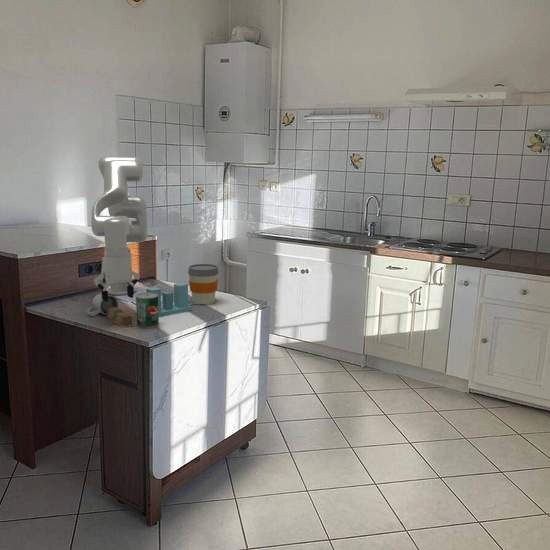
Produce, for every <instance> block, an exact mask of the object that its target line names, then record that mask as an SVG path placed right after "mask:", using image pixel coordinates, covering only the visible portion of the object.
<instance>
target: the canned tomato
mask: <svg viewBox="0 0 550 550" xmlns="http://www.w3.org/2000/svg"><path fill="white" fill-rule="evenodd" d="M135 309H136V314H135V315H136V326H137V327H138V326H139V327H138V328H142V327H150V328H155V327H157V325H158V326H159V325H160V323H159V319H160V317H159V316H158V315H159V314H158V294H156V293H146V292H140V293H137V294H136V295H135ZM154 326H155V327H154Z"/></svg>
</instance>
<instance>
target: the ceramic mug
mask: <svg viewBox="0 0 550 550" xmlns="http://www.w3.org/2000/svg"><path fill="white" fill-rule="evenodd" d="M91 303H92V304H91V305H92V306H91V307H89V308H88V310H86V313H87V315H88V316H89V317H94V316H96V315H99V314H100V313H101V314H103V315H105V316H107V307H113V306H115V307H116V308H118V307H119V301H118V299H117V297H116V296H115V295H111V294H108V302H105V301H103V299H102V293H98V294H96V295H95V296H94V297H93V299H92V302H91ZM118 309H119V308H118Z"/></svg>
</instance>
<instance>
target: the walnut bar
mask: <svg viewBox="0 0 550 550" xmlns="http://www.w3.org/2000/svg"><path fill="white" fill-rule="evenodd" d="M106 317H107V318H108V317H109V318H110V319H109V318H108V319H109V320H111V319H112V320H111V321H113V320H114V321H116V322H117V323H116V322H115V323H116V324H118V323H119V324H120V326H121V325H122V326H121V327H123V326H127V327H130V326H129V325H132V323H133V321H132V315H131V314H129V313H127V312H126V311H124V310H122V309H120V308H116V307H115V306H113V307H107V315H106ZM114 321H113V322H114ZM119 324H118V325H119ZM132 326H133V325H132Z"/></svg>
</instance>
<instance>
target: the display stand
mask: <svg viewBox="0 0 550 550" xmlns="http://www.w3.org/2000/svg"><path fill="white" fill-rule="evenodd" d="M145 290H146V291H145V293H156V294H158V314H159V315H158V316H161V317H165V315H166V316H170V315H175V314H180V312H181V313H186V312H190V311H192V310H193V309H192V308H193V307H192V306H191V305H189V284H187V283H185V282H179V283H174V284H173V292H171V291H163V292H162V289H161V288H159V287H156V286H151V287H150V288H149V287H147V288H146V289H145ZM161 292H162V295H161Z"/></svg>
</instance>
